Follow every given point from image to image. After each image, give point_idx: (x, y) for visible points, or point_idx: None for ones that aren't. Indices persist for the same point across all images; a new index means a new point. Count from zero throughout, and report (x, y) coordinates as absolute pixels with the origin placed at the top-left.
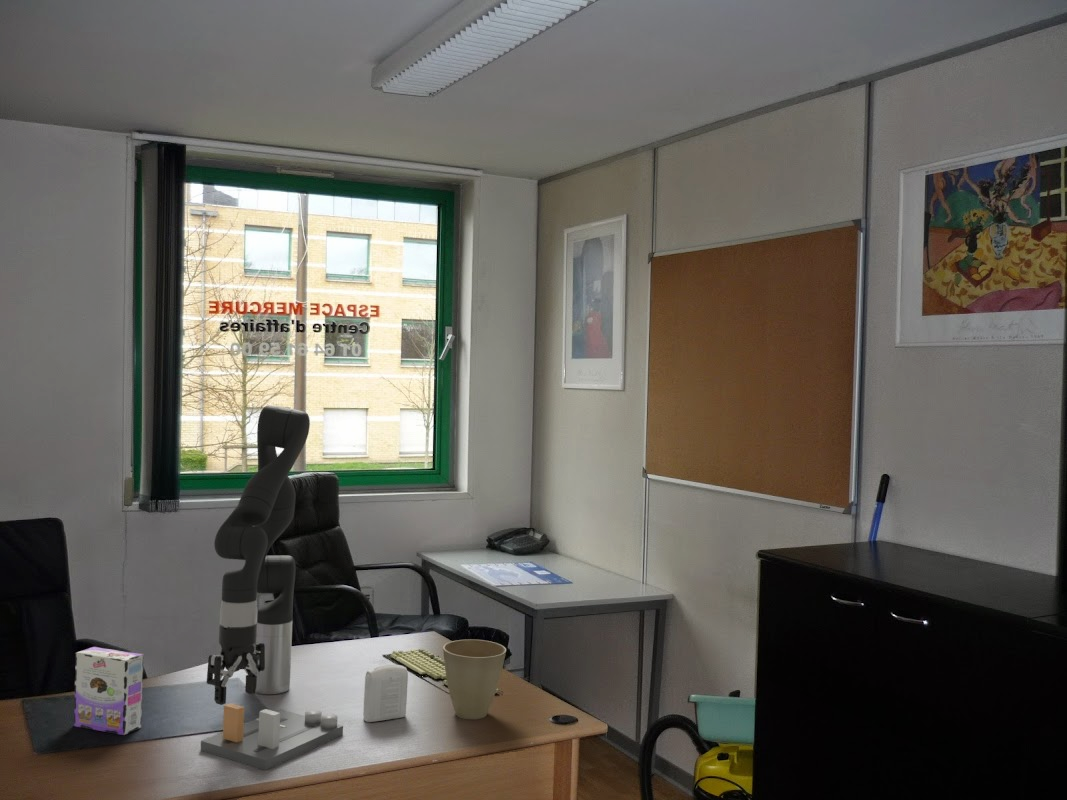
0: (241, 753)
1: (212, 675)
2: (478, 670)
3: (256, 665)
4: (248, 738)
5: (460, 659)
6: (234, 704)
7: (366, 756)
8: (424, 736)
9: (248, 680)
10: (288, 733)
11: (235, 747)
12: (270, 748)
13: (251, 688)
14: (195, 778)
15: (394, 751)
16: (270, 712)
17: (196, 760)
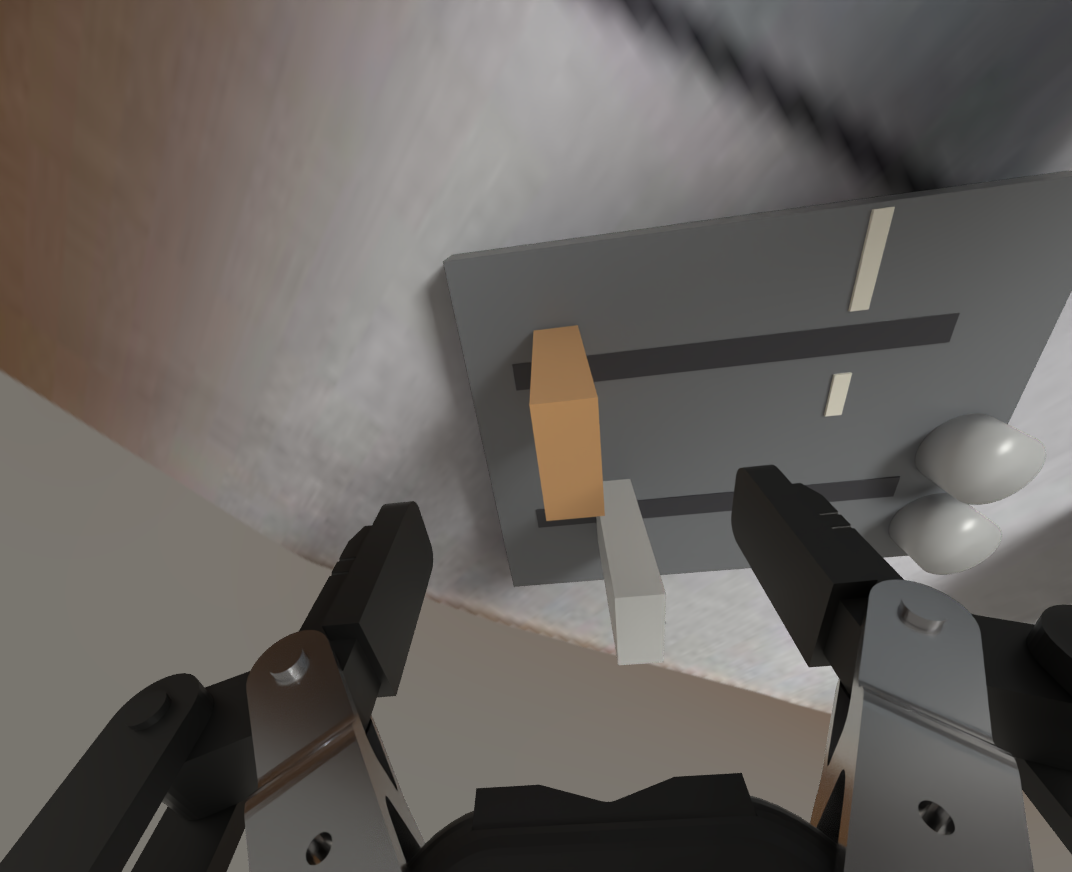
0: (494, 495)
1: (141, 817)
2: None
3: (1068, 732)
4: (621, 404)
5: None
6: (596, 441)
7: (770, 655)
8: None
9: (793, 574)
10: None
11: (511, 444)
12: (597, 533)
13: (751, 551)
14: (304, 470)
15: None
16: (639, 635)
17: (380, 342)
